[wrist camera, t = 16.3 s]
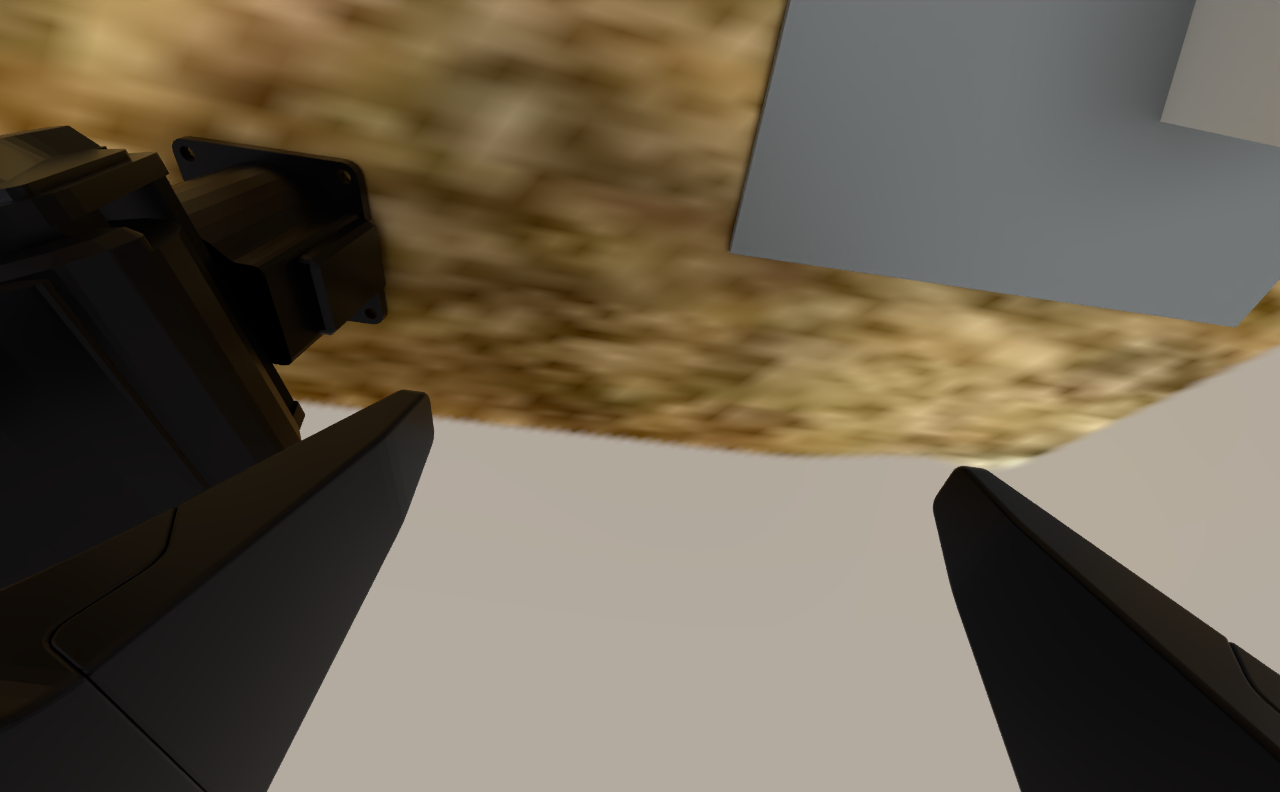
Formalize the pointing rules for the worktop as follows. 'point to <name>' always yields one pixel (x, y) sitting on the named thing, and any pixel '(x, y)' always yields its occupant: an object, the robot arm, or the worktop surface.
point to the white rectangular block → (1229, 71)
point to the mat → (1007, 157)
